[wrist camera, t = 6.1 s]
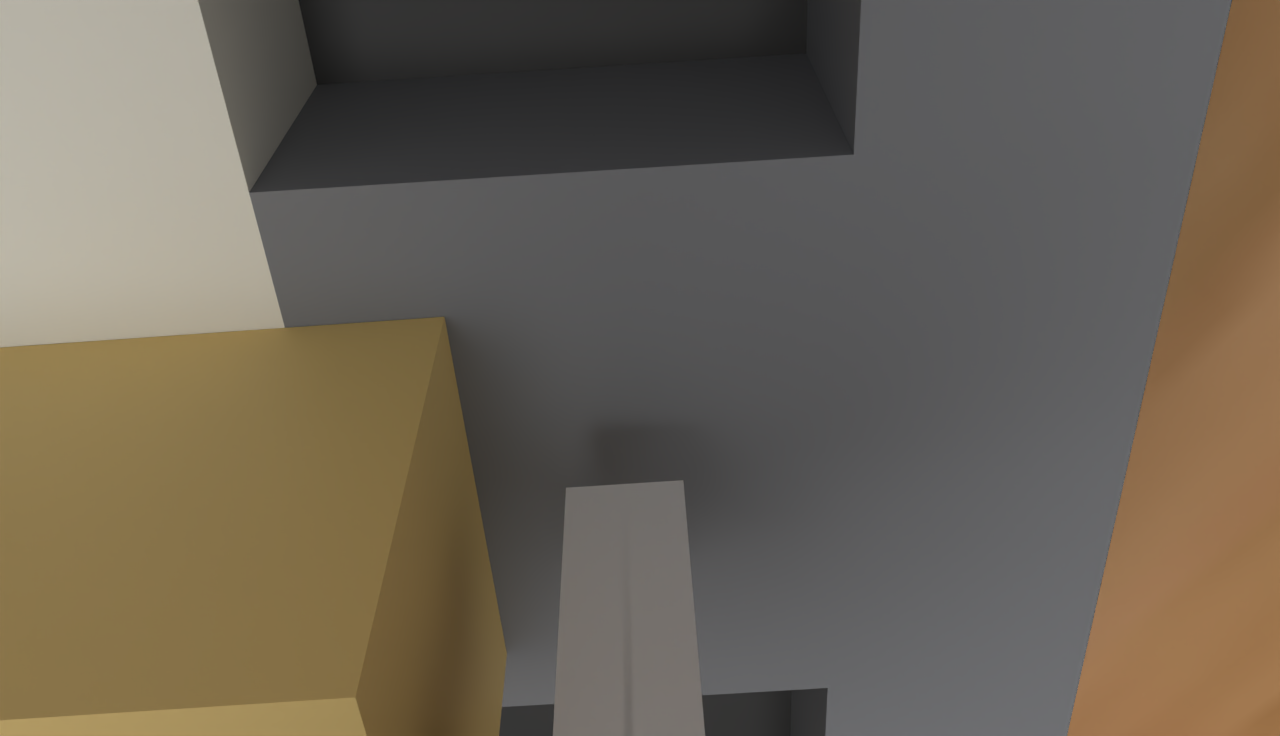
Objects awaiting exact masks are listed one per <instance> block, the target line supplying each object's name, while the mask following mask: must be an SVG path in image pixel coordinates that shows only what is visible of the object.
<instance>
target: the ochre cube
mask: <svg viewBox="0 0 1280 736" xmlns="http://www.w3.org/2000/svg"><path fill="white" fill-rule="evenodd" d="M506 658H507V652H506V647H505V641H504V636H503V630H502V625H501V620H500V614H499V609H498V603H497V598H496V593H495V587H494V582H493V576H492V571H491V566H490V560H489V555H488V549H487V544H486V539H485V533H484V528H483V522H482V517H481V511H480V506H479V501H478V495H477V490H476V484H475V479H474V474H473V468H472V463H471V457H470V452H469V447H468V441H467V436H466V430H465V425H464V420H463V414H462V409H461V403H460V398H459V393H458V387H457V382H456V376H455V371H454V366H453V360H452V355H451V349H450V344H449V339H448V333H447V328H446V322H445V317H433V318H419V319H404V320H390V321H376V322H361V323H347V324H333V325H318V326H304V327H289V328H275V329H261V330H246V331H232V332H217V333H203V334H189V335H174V336H160V337H145V338H131V339H117V340H102V341H88V342H73V343H59V344H45V345H30V346H16V347H1V348H0V736H499V731H500V720H501V710H502V700H503V689H504V679H505V668H506Z"/></svg>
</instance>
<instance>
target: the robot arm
mask: <svg viewBox="0 0 1280 736" xmlns="http://www.w3.org/2000/svg"><path fill="white" fill-rule="evenodd" d="M553 736H705V728H704V716H703V704H702V693H701V681H700V669H699V658H698V646H697V634H696V623H695V611H694V599H693V587H692V576H691V564H690V552H689V541H688V529H687V517H686V506H685V494H684V482H683V480H679V481H663V482H647V483H632V484H616V485H600V486H585V487H569V488H566V497H565V516H564V535H563V553H562V572H561V591H560V610H559V629H558V647H557V666H556V685H555V704H554V723H553Z"/></svg>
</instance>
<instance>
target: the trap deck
mask: <svg viewBox="0 0 1280 736" xmlns="http://www.w3.org/2000/svg"><path fill="white" fill-rule="evenodd" d="M1231 2H1232V0H0V348H1V347H16V346H30V345H45V344H59V343H73V342H88V341H102V340H117V339H131V338H145V337H160V336H174V335H189V334H203V333H217V332H232V331H246V330H261V329H275V328H289V327H304V326H318V325H333V324H347V323H361V322H376V321H390V320H404V319H419V318H433V317H445V322H446V328H447V333H448V339H449V344H450V349H451V355H452V360H453V366H454V371H455V376H456V382H457V387H458V393H459V398H460V403H461V409H462V414H463V420H464V425H465V430H466V436H467V441H468V447H469V452H470V457H471V463H472V468H473V474H474V479H475V484H476V490H477V495H478V501H479V506H480V511H481V517H482V522H483V528H484V533H485V539H486V544H487V549H488V555H489V560H490V566H491V571H492V576H493V582H494V587H495V593H496V598H497V603H498V609H499V614H500V620H501V625H502V630H503V636H504V641H505V647H506V652H507V658H506V668H505V679H504V689H503V700H502V710H501V720H500V731H499V736H553V723H554V704H555V685H556V666H557V647H558V629H559V610H560V591H561V572H562V553H563V535H564V516H565V497H566V488H569V487H585V486H600V485H616V484H632V483H647V482H663V481H679V480H683V482H684V494H685V506H686V517H687V529H688V541H689V552H690V564H691V576H692V587H693V599H694V611H695V623H696V634H697V646H698V658H699V669H700V681H701V693H702V704H703V716H704V728H705V736H1067V733H1068V728H1069V724H1070V720H1071V715H1072V711H1073V706H1074V702H1075V697H1076V693H1077V688H1078V684H1079V679H1080V675H1081V671H1082V666H1083V662H1084V657H1085V653H1086V648H1087V644H1088V639H1089V635H1090V630H1091V626H1092V622H1093V617H1094V613H1095V608H1096V604H1097V599H1098V595H1099V590H1100V586H1101V581H1102V577H1103V572H1104V568H1105V564H1106V559H1107V555H1108V550H1109V546H1110V541H1111V537H1112V532H1113V528H1114V523H1115V519H1116V515H1117V510H1118V506H1119V501H1120V497H1121V492H1122V488H1123V483H1124V479H1125V474H1126V470H1127V466H1128V461H1129V457H1130V452H1131V448H1132V443H1133V439H1134V434H1135V430H1136V425H1137V421H1138V417H1139V412H1140V408H1141V403H1142V399H1143V394H1144V390H1145V385H1146V381H1147V376H1148V372H1149V368H1150V363H1151V359H1152V354H1153V350H1154V345H1155V341H1156V336H1157V332H1158V327H1159V323H1160V319H1161V314H1162V310H1163V305H1164V301H1165V296H1166V292H1167V287H1168V283H1169V278H1170V274H1171V270H1172V265H1173V261H1174V256H1175V252H1176V247H1177V243H1178V238H1179V234H1180V229H1181V225H1182V220H1183V216H1184V212H1185V207H1186V203H1187V198H1188V194H1189V189H1190V185H1191V180H1192V176H1193V171H1194V167H1195V163H1196V158H1197V154H1198V149H1199V145H1200V140H1201V136H1202V131H1203V127H1204V122H1205V118H1206V114H1207V109H1208V105H1209V100H1210V96H1211V91H1212V87H1213V82H1214V78H1215V73H1216V69H1217V65H1218V60H1219V56H1220V51H1221V47H1222V42H1223V38H1224V33H1225V29H1226V24H1227V20H1228V16H1229V11H1230V7H1231Z"/></svg>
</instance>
